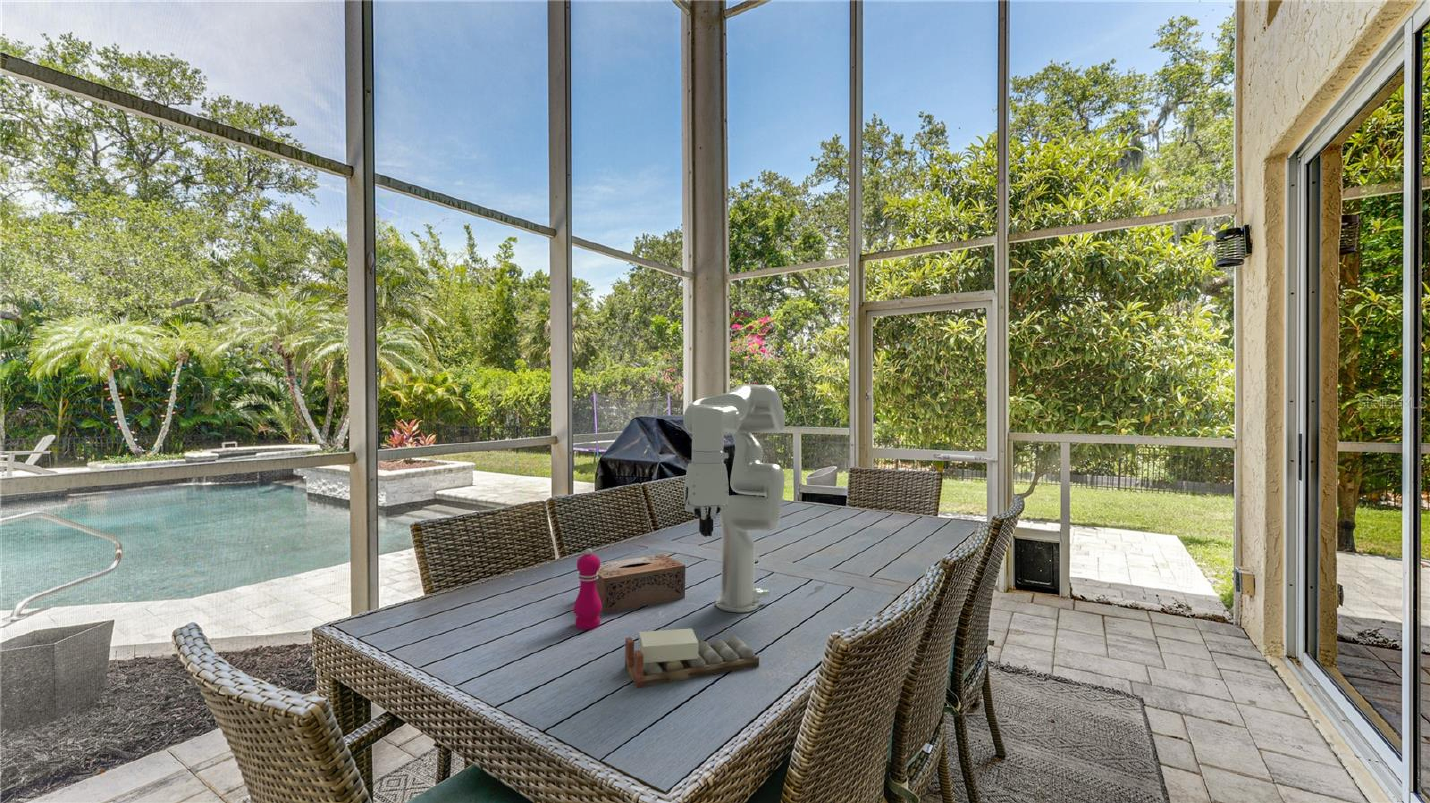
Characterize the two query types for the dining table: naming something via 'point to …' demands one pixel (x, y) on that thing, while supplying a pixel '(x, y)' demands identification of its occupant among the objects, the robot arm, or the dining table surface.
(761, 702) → the dining table surface
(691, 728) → the dining table surface
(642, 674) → the track
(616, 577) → the tissue box cover
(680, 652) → the slab
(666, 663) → the roller
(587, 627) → the pepper mill
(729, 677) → the dining table surface
